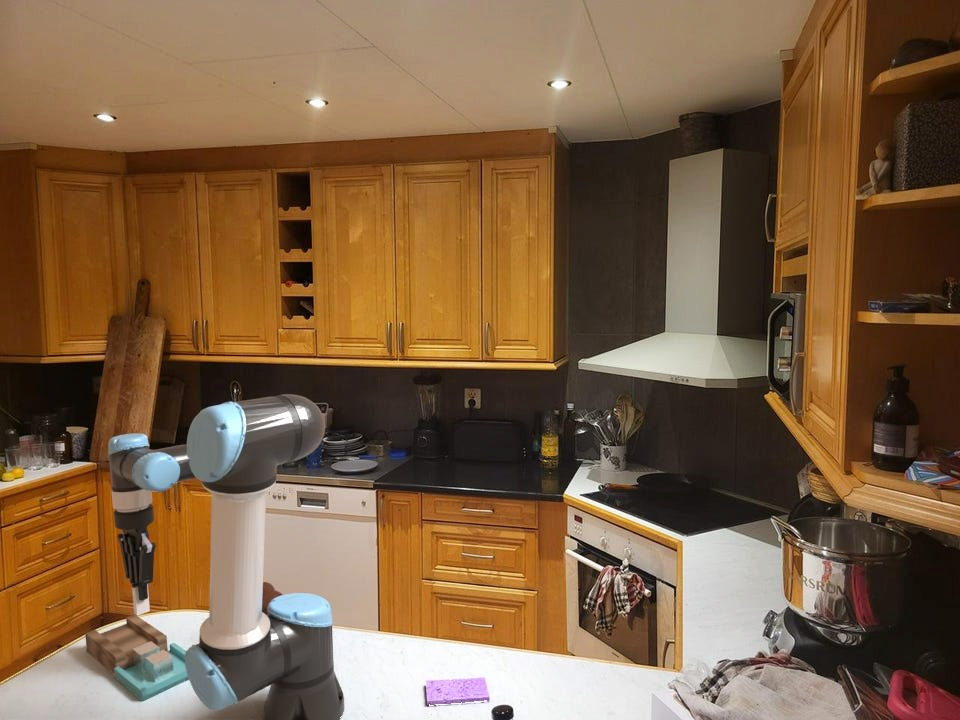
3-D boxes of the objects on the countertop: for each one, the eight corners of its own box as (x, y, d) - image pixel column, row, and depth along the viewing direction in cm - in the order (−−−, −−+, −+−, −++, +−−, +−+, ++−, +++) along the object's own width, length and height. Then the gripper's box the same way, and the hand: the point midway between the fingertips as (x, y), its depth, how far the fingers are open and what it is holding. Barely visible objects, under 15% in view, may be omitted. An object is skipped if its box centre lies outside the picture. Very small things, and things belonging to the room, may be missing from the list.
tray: (203, 672, 145) (203, 662, 145) (142, 701, 135) (141, 691, 135) (174, 651, 154) (173, 642, 153) (114, 677, 144) (113, 668, 143)
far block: (160, 664, 147) (159, 647, 147) (142, 672, 144) (140, 655, 143) (152, 658, 150) (151, 641, 149) (133, 666, 146) (132, 648, 146)
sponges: (426, 688, 140) (425, 679, 139) (486, 684, 141) (486, 675, 141) (426, 709, 133) (426, 700, 132) (490, 705, 134) (490, 696, 134)
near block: (164, 666, 146) (173, 673, 144) (146, 675, 143) (155, 682, 140) (163, 649, 146) (172, 655, 143) (144, 657, 143) (153, 664, 140)
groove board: (167, 654, 152) (166, 635, 152) (117, 676, 144) (115, 657, 143) (136, 632, 162) (134, 614, 162) (86, 651, 154) (85, 633, 154)
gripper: (165, 507, 142) (173, 614, 145) (137, 496, 150) (145, 597, 153) (128, 517, 136) (137, 628, 139) (101, 505, 145) (110, 610, 147)
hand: (141, 612), depth 146 cm, fingers closed
